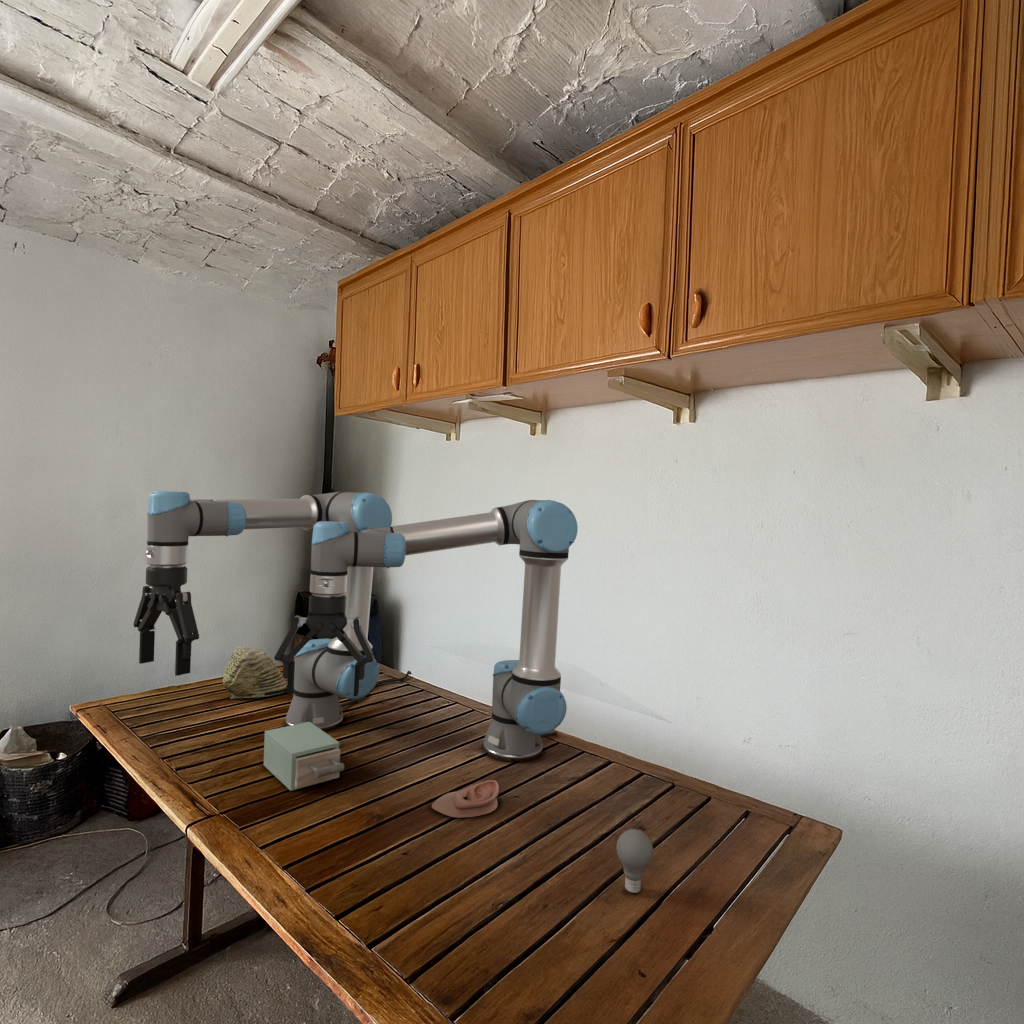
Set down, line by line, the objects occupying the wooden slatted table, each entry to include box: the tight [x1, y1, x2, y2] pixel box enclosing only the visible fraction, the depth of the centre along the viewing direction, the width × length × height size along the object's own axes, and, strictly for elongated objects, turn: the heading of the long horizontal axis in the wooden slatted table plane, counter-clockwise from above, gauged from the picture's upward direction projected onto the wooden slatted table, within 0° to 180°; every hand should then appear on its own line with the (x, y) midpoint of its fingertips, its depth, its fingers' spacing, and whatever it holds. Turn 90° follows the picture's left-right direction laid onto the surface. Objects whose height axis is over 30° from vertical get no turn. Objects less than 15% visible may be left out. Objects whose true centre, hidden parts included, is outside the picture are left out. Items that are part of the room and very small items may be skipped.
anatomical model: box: [431, 779, 500, 819], centre depth 132 cm, size 13×4×12 cm
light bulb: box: [615, 828, 654, 894], centre depth 106 cm, size 6×6×10 cm
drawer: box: [295, 748, 345, 790], centre depth 141 cm, size 21×10×6 cm, turn 41°
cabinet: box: [263, 722, 340, 792], centre depth 145 cm, size 16×11×8 cm
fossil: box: [222, 646, 288, 699], centre depth 198 cm, size 9×18×15 cm, turn 132°
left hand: (164, 668), depth 131 cm, fingers open, 13 cm apart
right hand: (323, 694), depth 134 cm, fingers open, 13 cm apart
